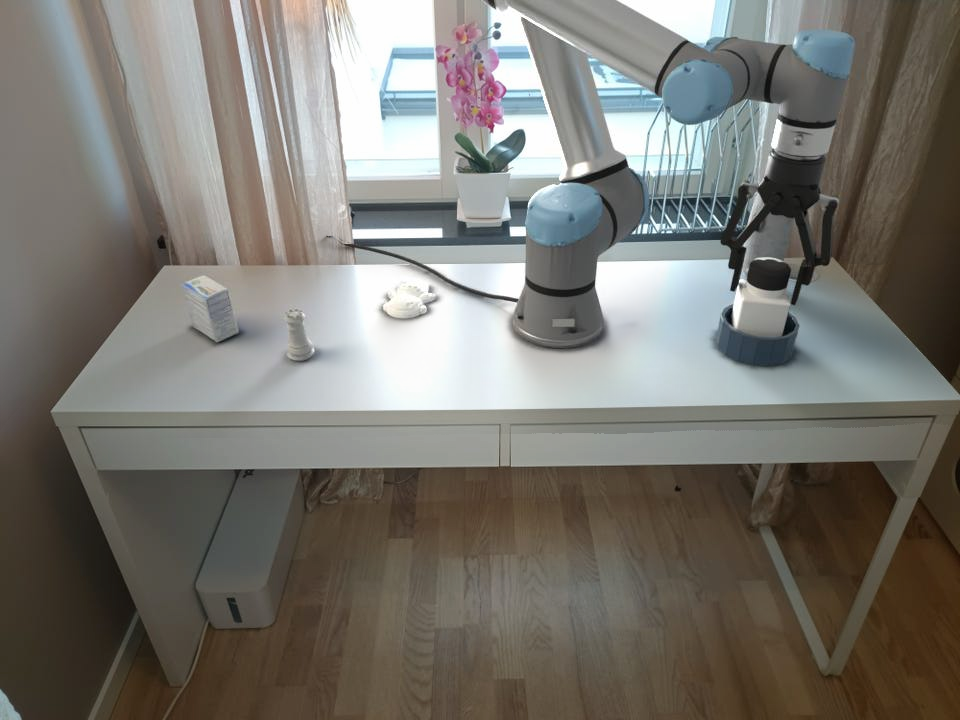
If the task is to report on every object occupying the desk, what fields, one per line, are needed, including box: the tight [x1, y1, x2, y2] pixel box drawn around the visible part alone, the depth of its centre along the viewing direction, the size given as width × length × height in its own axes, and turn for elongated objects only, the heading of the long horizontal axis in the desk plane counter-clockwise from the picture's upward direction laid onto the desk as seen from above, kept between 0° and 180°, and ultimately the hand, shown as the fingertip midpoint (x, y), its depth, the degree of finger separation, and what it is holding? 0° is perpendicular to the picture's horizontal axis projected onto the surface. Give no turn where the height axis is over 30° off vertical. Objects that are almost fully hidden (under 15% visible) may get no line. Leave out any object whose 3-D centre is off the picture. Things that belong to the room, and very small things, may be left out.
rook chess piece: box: [283, 307, 315, 362], centre depth 118 cm, size 4×4×8 cm
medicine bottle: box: [731, 257, 792, 338], centre depth 116 cm, size 7×7×12 cm
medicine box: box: [181, 275, 239, 343], centre depth 125 cm, size 8×4×9 cm, turn 47°
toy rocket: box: [742, 192, 795, 280], centre depth 131 cm, size 8×8×25 cm
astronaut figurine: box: [382, 280, 436, 319], centre depth 134 cm, size 9×12×3 cm
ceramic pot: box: [715, 303, 800, 367], centre depth 120 cm, size 12×12×5 cm
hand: (763, 294), depth 116 cm, fingers closed on medicine bottle, 8 cm apart
